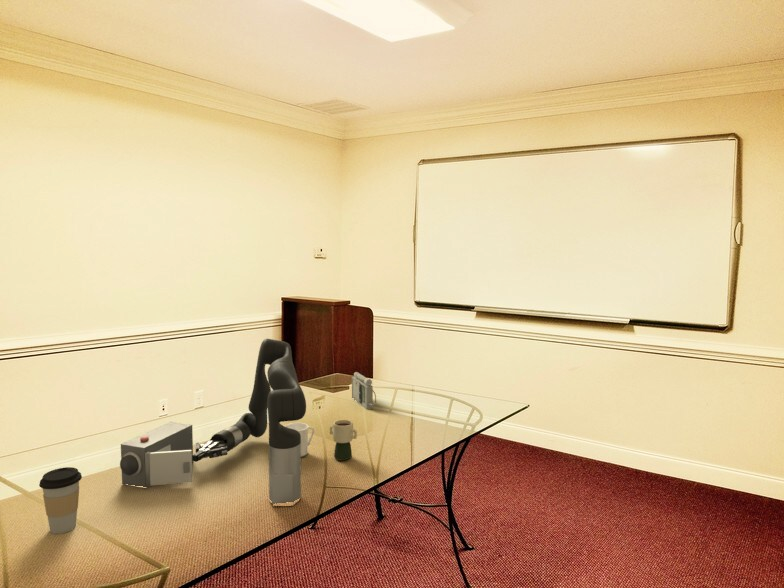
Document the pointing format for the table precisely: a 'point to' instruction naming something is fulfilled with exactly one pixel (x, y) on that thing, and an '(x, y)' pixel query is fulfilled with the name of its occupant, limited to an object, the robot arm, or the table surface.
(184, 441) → the camera body
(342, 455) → the character mug
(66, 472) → the coffee cup
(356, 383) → the geiger counter
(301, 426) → the mug
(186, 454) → the side door
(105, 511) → the table surface
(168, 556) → the table surface
